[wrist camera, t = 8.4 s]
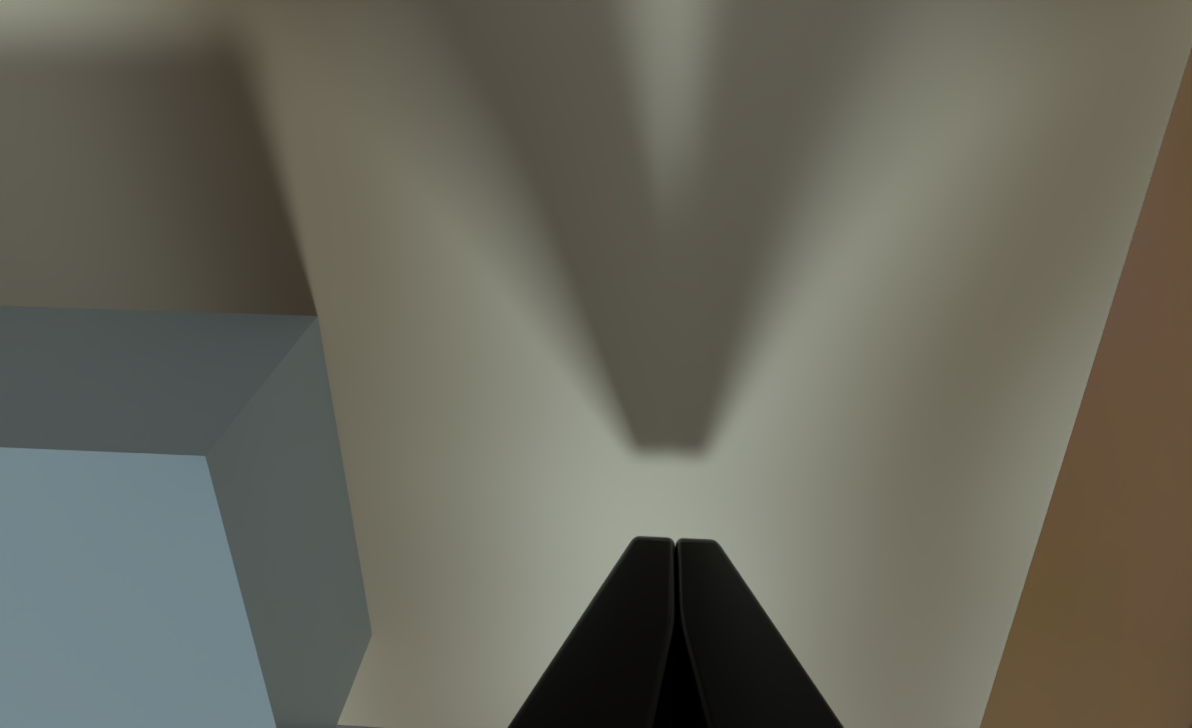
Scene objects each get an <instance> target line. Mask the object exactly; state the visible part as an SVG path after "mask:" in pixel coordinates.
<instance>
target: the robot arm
mask: <svg viewBox="0 0 1192 728" xmlns="http://www.w3.org/2000/svg"><path fill="white" fill-rule="evenodd" d="M507 728H844V727H843V725H842V724H841V722H840V721H839V719H838V718H837V716H836V715H835V713H834V712H833V710H832V709H831V708H830V706H829V705H828V703H827V702H826V700H825V699H824V697H823V696H822V694H821V693H820V691H819V690H818V688H817V687H816V685H815V684H814V683H813V681H812V680H811V678H810V677H809V675H808V674H807V672H806V671H805V669H804V668H803V666H802V665H801V663H800V662H799V660H798V659H797V657H796V656H795V655H794V653H793V652H792V650H791V649H790V647H789V646H788V644H787V643H786V641H785V640H784V638H783V637H782V635H781V634H780V632H779V631H778V629H777V628H776V627H775V625H774V624H773V622H772V621H771V619H770V618H769V616H768V615H767V613H766V612H765V610H764V609H763V607H762V606H761V604H760V603H759V601H758V600H757V599H756V597H755V596H754V594H753V593H752V591H751V590H750V588H749V587H748V585H747V584H746V582H745V581H744V579H743V578H742V576H741V575H740V573H739V572H738V571H737V569H736V568H735V566H734V565H733V563H732V562H731V560H730V559H729V557H728V556H727V554H726V553H725V551H724V550H723V548H722V547H721V546H720V544H719V543H718V542H717V541H715V540H712V539H697V538H680V539H678V540H677V542H676V544H675V543H674V541H673V539H671V538H669V537H654V536H636V537H634V538H633V539H632V540H631V542H630V543H629V545H628V546H627V548H626V549H625V551H624V552H623V554H622V555H621V557H620V558H619V560H618V561H617V563H616V564H615V566H614V567H613V569H612V570H611V572H610V573H609V575H608V576H607V578H606V579H605V581H604V582H603V584H602V585H601V587H600V588H599V590H598V591H597V593H596V594H595V596H594V597H593V599H592V600H591V602H590V603H589V605H588V606H587V608H586V609H585V611H584V613H583V614H582V616H581V617H580V619H579V620H578V622H577V623H576V625H575V626H574V628H573V629H572V631H571V632H570V634H569V635H568V637H567V638H566V640H565V641H564V643H563V644H562V646H561V647H560V649H559V650H558V652H557V653H556V655H555V656H554V658H553V659H552V661H551V662H550V664H549V665H548V667H547V668H546V670H545V671H544V673H543V674H542V676H541V677H540V679H539V680H538V682H537V684H536V685H535V687H534V688H533V690H532V691H531V693H530V694H529V696H528V697H527V699H526V700H525V702H524V703H523V705H522V706H521V708H520V709H519V711H518V712H517V714H516V715H515V717H514V718H513V720H512V721H511V723H510V724H509V726H508V727H507Z"/></svg>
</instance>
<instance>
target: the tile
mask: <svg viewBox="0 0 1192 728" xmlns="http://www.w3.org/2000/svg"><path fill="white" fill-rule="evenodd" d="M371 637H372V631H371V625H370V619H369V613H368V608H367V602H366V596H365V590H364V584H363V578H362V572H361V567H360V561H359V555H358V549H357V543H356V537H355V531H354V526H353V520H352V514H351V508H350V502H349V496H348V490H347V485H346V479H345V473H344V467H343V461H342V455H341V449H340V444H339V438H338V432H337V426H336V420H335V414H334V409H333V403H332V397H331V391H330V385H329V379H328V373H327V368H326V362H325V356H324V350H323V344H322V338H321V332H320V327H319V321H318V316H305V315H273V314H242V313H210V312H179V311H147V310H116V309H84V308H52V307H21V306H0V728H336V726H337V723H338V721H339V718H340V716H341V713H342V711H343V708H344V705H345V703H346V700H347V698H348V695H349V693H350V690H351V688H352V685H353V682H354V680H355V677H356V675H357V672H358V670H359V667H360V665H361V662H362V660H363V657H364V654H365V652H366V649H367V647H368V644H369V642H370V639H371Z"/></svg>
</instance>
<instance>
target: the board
mask: <svg viewBox="0 0 1192 728" xmlns="http://www.w3.org/2000/svg"><path fill="white" fill-rule="evenodd" d="M1191 48H1192V0H0V306H21V307H52V308H84V309H116V310H147V311H179V312H210V313H242V314H273V315H305V316H318V321H319V327H320V332H321V338H322V344H323V350H324V356H325V362H326V368H327V373H328V379H329V385H330V391H331V397H332V403H333V409H334V414H335V420H336V426H337V432H338V438H339V444H340V449H341V455H342V461H343V467H344V473H345V479H346V485H347V490H348V496H349V502H350V508H351V514H352V520H353V526H354V531H355V537H356V543H357V549H358V555H359V561H360V567H361V572H362V578H363V584H364V590H365V596H366V602H367V608H368V613H369V619H370V625H371V631H372V637H371V639H370V642H369V644H368V647H367V649H366V652H365V654H364V657H363V660H362V662H361V665H360V667H359V670H358V672H357V675H356V677H355V680H354V682H353V685H352V688H351V690H350V693H349V695H348V698H347V700H346V703H345V705H344V708H343V711H342V713H341V716H340V718H339V721H338V723H337V725H352V726H368V727H384V728H507V727H508V726H509V724H510V723H511V721H512V720H513V718H514V717H515V715H516V714H517V712H518V711H519V709H520V708H521V706H522V705H523V703H524V702H525V700H526V699H527V697H528V696H529V694H530V693H531V691H532V690H533V688H534V687H535V685H536V684H537V682H538V680H539V679H540V677H541V676H542V674H543V673H544V671H545V670H546V668H547V667H548V665H549V664H550V662H551V661H552V659H553V658H554V656H555V655H556V653H557V652H558V650H559V649H560V647H561V646H562V644H563V643H564V641H565V640H566V638H567V637H568V635H569V634H570V632H571V631H572V629H573V628H574V626H575V625H576V623H577V622H578V620H579V619H580V617H581V616H582V614H583V613H584V611H585V609H586V608H587V606H588V605H589V603H590V602H591V600H592V599H593V597H594V596H595V594H596V593H597V591H598V590H599V588H600V587H601V585H602V584H603V582H604V581H605V579H606V578H607V576H608V575H609V573H610V572H611V570H612V569H613V567H614V566H615V564H616V563H617V561H618V560H619V558H620V557H621V555H622V554H623V552H624V551H625V549H626V548H627V546H628V545H629V543H630V542H631V540H632V539H633V538H634V537H636V536H654V537H669V538H671V539H673V541H674V543H675V544H676V542H677V540H678V539H680V538H697V539H712V540H715V541H717V542H718V543H719V544H720V546H721V547H722V548H723V550H724V551H725V553H726V554H727V556H728V557H729V559H730V560H731V562H732V563H733V565H734V566H735V568H736V569H737V571H738V572H739V573H740V575H741V576H742V578H743V579H744V581H745V582H746V584H747V585H748V587H749V588H750V590H751V591H752V593H753V594H754V596H755V597H756V599H757V600H758V601H759V603H760V604H761V606H762V607H763V609H764V610H765V612H766V613H767V615H768V616H769V618H770V619H771V621H772V622H773V624H774V625H775V627H776V628H777V629H778V631H779V632H780V634H781V635H782V637H783V638H784V640H785V641H786V643H787V644H788V646H789V647H790V649H791V650H792V652H793V653H794V655H795V656H796V657H797V659H798V660H799V662H800V663H801V665H802V666H803V668H804V669H805V671H806V672H807V674H808V675H809V677H810V678H811V680H812V681H813V683H814V684H815V685H816V687H817V688H818V690H819V691H820V693H821V694H822V696H823V697H824V699H825V700H826V702H827V703H828V705H829V706H830V708H831V709H832V710H833V712H834V713H835V715H836V716H837V718H838V719H839V721H840V722H841V724H842V725H843V727H844V728H980V724H981V721H982V718H983V715H984V712H985V708H986V705H987V702H988V699H989V696H990V692H991V689H992V686H993V683H994V679H995V676H996V673H997V670H998V667H999V663H1000V660H1001V657H1002V654H1003V651H1004V647H1005V644H1006V641H1007V638H1008V635H1009V631H1010V628H1011V625H1012V622H1013V619H1014V615H1015V612H1016V609H1017V606H1018V603H1019V599H1020V596H1021V593H1022V590H1023V586H1024V583H1025V580H1026V577H1027V574H1028V570H1029V567H1030V564H1031V561H1032V558H1033V554H1034V551H1035V548H1036V545H1037V542H1038V538H1039V535H1040V532H1041V529H1042V526H1043V522H1044V519H1045V516H1046V513H1047V510H1048V506H1049V503H1050V500H1051V497H1052V493H1053V490H1054V487H1055V484H1056V481H1057V477H1058V474H1059V471H1060V468H1061V465H1062V461H1063V458H1064V455H1065V452H1066V449H1067V445H1068V442H1069V439H1070V436H1071V433H1072V429H1073V426H1074V423H1075V420H1076V416H1077V413H1078V410H1079V407H1080V404H1081V400H1082V397H1083V394H1084V391H1085V388H1086V384H1087V381H1088V378H1089V375H1090V372H1091V368H1092V365H1093V362H1094V359H1095V356H1096V352H1097V349H1098V346H1099V343H1100V340H1101V336H1102V333H1103V330H1104V327H1105V323H1106V320H1107V317H1108V314H1109V311H1110V307H1111V304H1112V301H1113V298H1114V295H1115V291H1116V288H1117V285H1118V282H1119V279H1120V275H1121V272H1122V269H1123V266H1124V263H1125V259H1126V256H1127V253H1128V250H1129V247H1130V243H1131V240H1132V237H1133V234H1134V230H1135V227H1136V224H1137V221H1138V218H1139V214H1140V211H1141V208H1142V205H1143V202H1144V198H1145V195H1146V192H1147V189H1148V186H1149V182H1150V179H1151V176H1152V173H1153V170H1154V166H1155V163H1156V160H1157V157H1158V154H1159V150H1160V147H1161V144H1162V141H1163V137H1164V134H1165V131H1166V128H1167V125H1168V121H1169V118H1170V115H1171V112H1172V109H1173V105H1174V102H1175V99H1176V96H1177V93H1178V89H1179V86H1180V83H1181V80H1182V77H1183V73H1184V70H1185V67H1186V64H1187V61H1188V57H1189V54H1190V51H1191Z"/></svg>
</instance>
